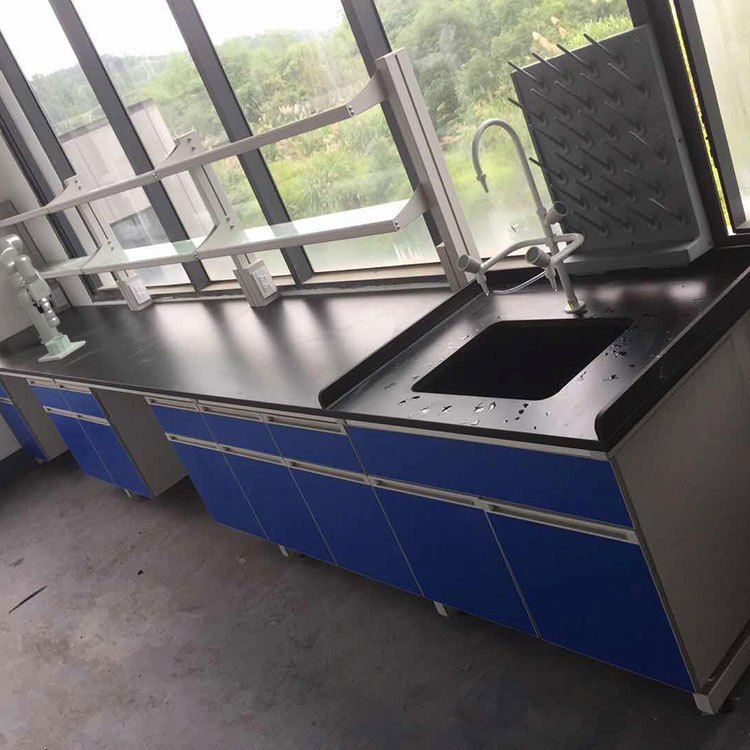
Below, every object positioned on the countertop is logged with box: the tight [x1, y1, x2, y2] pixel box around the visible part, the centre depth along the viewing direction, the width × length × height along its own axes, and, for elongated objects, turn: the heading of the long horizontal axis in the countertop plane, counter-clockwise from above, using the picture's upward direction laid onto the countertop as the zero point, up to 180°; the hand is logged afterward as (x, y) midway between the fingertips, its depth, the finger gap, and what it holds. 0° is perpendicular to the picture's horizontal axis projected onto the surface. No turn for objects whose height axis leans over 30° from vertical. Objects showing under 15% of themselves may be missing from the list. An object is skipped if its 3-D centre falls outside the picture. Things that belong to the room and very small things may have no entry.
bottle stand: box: [37, 334, 87, 363], centre depth 414 cm, size 18×18×8 cm
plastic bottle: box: [39, 297, 61, 328], centre depth 426 cm, size 6×7×20 cm
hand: (47, 310), depth 426 cm, fingers closed on plastic bottle, 6 cm apart
